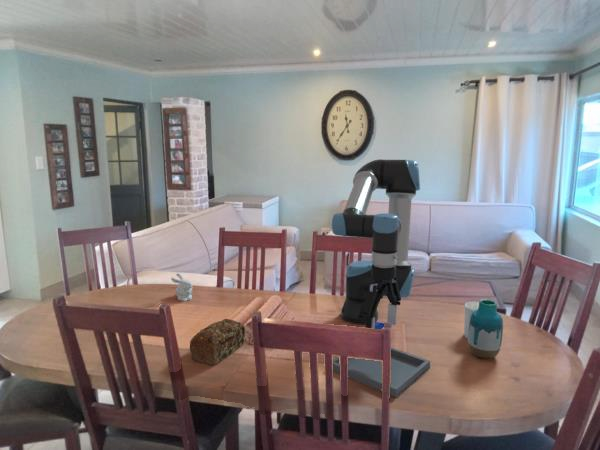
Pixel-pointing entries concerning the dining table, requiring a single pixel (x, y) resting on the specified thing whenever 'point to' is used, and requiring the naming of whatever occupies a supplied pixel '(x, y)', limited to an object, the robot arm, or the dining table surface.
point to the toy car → (379, 325)
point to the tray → (402, 371)
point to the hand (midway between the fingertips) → (381, 330)
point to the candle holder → (469, 315)
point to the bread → (217, 341)
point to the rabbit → (183, 288)
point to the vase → (485, 330)
